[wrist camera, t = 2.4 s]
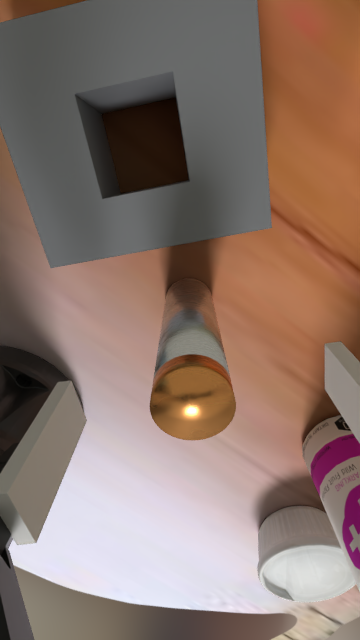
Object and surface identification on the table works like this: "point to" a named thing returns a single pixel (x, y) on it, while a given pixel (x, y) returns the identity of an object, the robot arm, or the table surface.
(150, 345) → the table surface
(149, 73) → the block
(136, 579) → the table surface
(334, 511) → the supplement can
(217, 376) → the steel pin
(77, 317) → the table surface
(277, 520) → the ramekin
